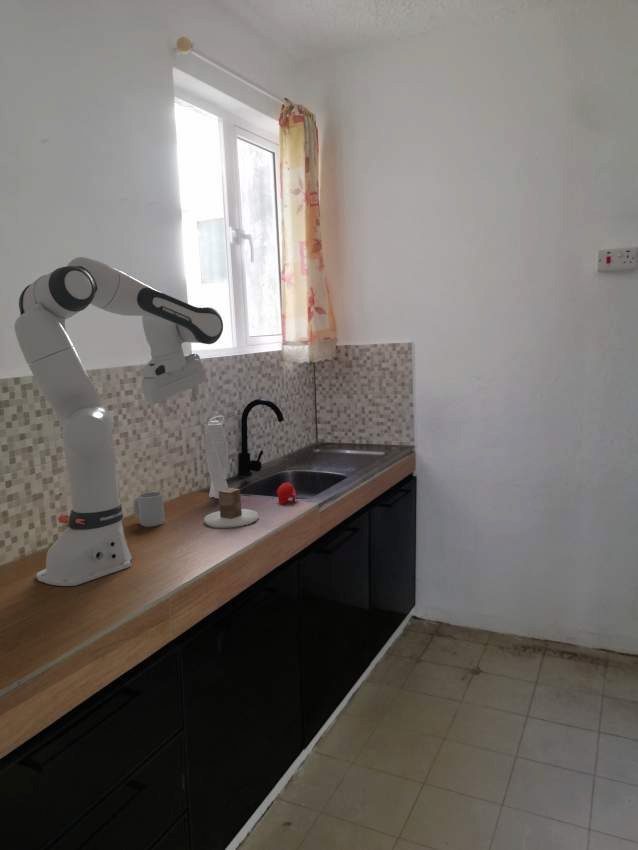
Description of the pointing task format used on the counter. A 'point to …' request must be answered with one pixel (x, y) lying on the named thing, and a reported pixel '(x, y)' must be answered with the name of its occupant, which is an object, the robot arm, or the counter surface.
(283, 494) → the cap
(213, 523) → the plate
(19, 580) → the counter surface
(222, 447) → the skyscraper
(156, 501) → the cup
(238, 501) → the walnut block
